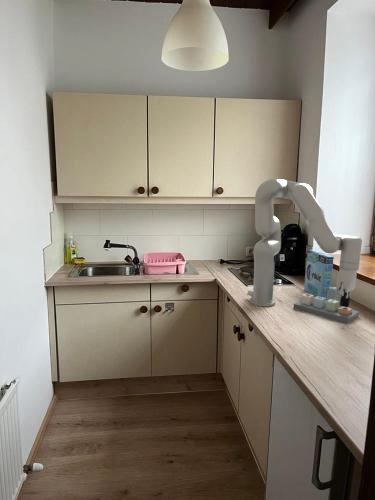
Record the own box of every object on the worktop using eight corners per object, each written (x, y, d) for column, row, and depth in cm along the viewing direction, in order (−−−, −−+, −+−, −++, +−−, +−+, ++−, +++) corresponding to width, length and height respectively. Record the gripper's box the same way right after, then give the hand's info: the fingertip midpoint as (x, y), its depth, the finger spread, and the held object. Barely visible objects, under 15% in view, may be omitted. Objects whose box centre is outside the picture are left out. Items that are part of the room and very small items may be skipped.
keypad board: (293, 308, 161) (293, 303, 160) (305, 303, 169) (305, 298, 169) (348, 324, 143) (348, 318, 143) (358, 316, 151) (359, 311, 151)
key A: (325, 309, 154) (326, 300, 153) (329, 307, 156) (330, 298, 156) (334, 311, 151) (335, 302, 150) (338, 309, 154) (338, 300, 153)
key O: (301, 303, 162) (302, 294, 161) (305, 301, 165) (306, 292, 164) (309, 305, 159) (310, 296, 158) (313, 303, 162) (314, 294, 161)
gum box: (303, 290, 191) (306, 249, 187) (312, 290, 191) (315, 249, 187) (320, 301, 172) (324, 256, 168) (330, 301, 172) (334, 256, 168)
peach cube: (338, 317, 150) (338, 308, 149) (341, 314, 153) (342, 305, 152) (347, 319, 147) (348, 310, 146) (351, 317, 150) (352, 308, 149)
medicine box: (343, 304, 167) (345, 287, 166) (345, 307, 163) (346, 290, 161) (326, 303, 169) (327, 286, 168) (327, 306, 165) (328, 288, 164)
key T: (313, 306, 158) (313, 297, 157) (317, 304, 160) (317, 295, 160) (321, 308, 155) (322, 299, 154) (325, 306, 158) (326, 297, 157)
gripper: (347, 261, 154) (342, 300, 157) (333, 266, 143) (328, 307, 147) (364, 264, 148) (359, 304, 152) (351, 269, 138) (346, 312, 142)
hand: (344, 306), depth 149 cm, fingers closed
